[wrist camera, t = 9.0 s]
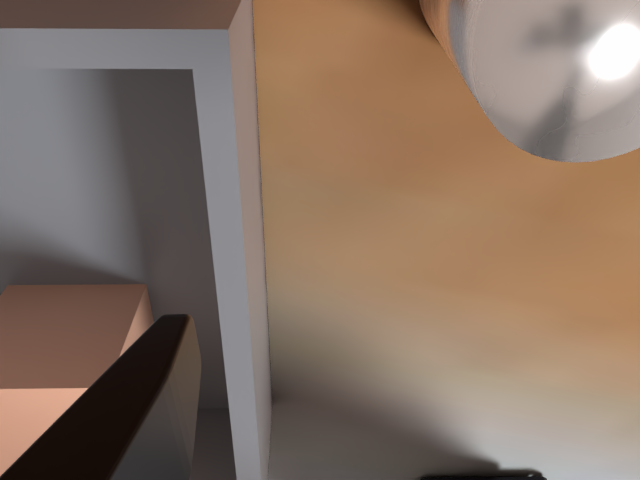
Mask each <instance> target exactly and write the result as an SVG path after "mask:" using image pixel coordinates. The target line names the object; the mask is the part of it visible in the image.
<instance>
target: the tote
mask: <svg viewBox="0 0 640 480" xmlns="http://www.w3.org/2000/svg"><path fill="white" fill-rule="evenodd" d="M102 284H147V289H148V294H149V299H150V305H151V310H152V315H153V320H154V322H155V321H156V320H157V319H158V318H159V317H160V316H162V315H166V314H189V315H191V316H192V318H193V320H194V324H195V329H196V335H197V340H198V345H199V350H200V355H201V378H200V389H199V399H198V410H197V420H196V430H195V441H194V451H193V460H192V468H191V475H190V480H268V469H269V453H270V437H271V421H272V387H271V367H270V347H269V327H268V307H267V287H266V267H265V247H264V227H263V206H262V186H261V166H260V146H259V126H258V106H257V86H256V66H255V46H254V26H253V6H252V0H0V295H1V294H2V292H3V291H4V290H5V288H6V287H7V285H102Z"/></svg>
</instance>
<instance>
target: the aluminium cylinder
mask: <svg viewBox="0 0 640 480" xmlns="http://www.w3.org/2000/svg"><path fill="white" fill-rule="evenodd" d="M419 3H420V7H421V10H422V13H423V15H424V18H425V20H426V22H427V24H428V26H429V27H430V29H431V31H432V32H433V34H434V35H435V37H436V38H437V40H438V41H439V43H440V45H441V46H442V48H443V49H444V51H445V52H446V54H447V55H448V57H449V58H450V60H451V62H452V63H453V65H454V66H455V68H456V69H457V71H458V72H459V74H460V75H461V77H462V78H463V80H464V82H465V83H466V85H467V86H468V88H469V89H470V91H471V92H472V94H473V95H474V97H475V98H476V100H477V102H478V103H479V105H480V106H481V108H482V109H483V111H484V112H485V114H486V115H487V117H488V118H489V120H490V121H491V122H492V124H493V125H494V126H495V128H496V129H497V130H498V131H499V132H500V133H501V134H502V135H503V136H504V137H505V138H506V139H507V140H509V141H510V142H512V143H513V144H514V145H516V146H517V147H519V148H520V149H523V150H525V151H527V152H529V153H531V154H533V155H536V156H539V157H542V158H545V159H550V160H555V161H561V162H589V161H597V160H602V159H608V158H611V157H615V156H618V155H622V154H625V153H627V152H630V151H632V150H635V149H637V148H640V0H419Z"/></svg>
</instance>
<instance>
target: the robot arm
mask: <svg viewBox="0 0 640 480" xmlns="http://www.w3.org/2000/svg"><path fill="white" fill-rule="evenodd" d="M200 378H201V355H200V350H199V345H198V340H197V335H196V329H195V324H194V320H193V318H192V316H191V315H189V314H166V315H162V316H160V317H159V318H158V319H157V320H156V321H155V322H154V323H153V324H152V325H151V326H150V327H149V328H148V329H147V330H146V331H145V332H144V333H143V334H142V335H141V336H140V337H139V338H138V339H137V340H136V341H135V342H134V343H133V344H132V345H131V346H130V347H129V348H128V349H127V350H126V351H125V352H124V353H123V354H122V355H121V356H120V357H119V358H118V359H117V360H116V361H115V362H114V363H113V364H112V365H111V366H110V367H109V368H108V369H107V370H106V371H105V372H104V373H103V374H102V375H101V376H100V377H99V378H98V379H97V380H96V381H95V382H94V383H93V384H92V385H91V386H90V387H89V388H88V389H87V390H86V391H85V392H84V393H83V394H82V395H81V396H80V397H79V398H78V399H77V400H76V401H75V402H74V403H73V404H72V405H71V406H70V407H69V408H68V409H67V410H66V411H65V412H64V413H63V414H62V415H61V416H60V417H59V418H58V419H57V420H56V421H55V422H54V423H53V424H52V425H51V426H50V427H49V428H48V429H47V430H46V431H45V432H44V433H43V434H42V435H41V436H40V437H39V438H38V439H37V440H36V441H35V442H34V443H33V444H32V445H31V446H30V447H29V448H28V449H27V450H26V451H25V452H24V453H23V454H22V455H21V456H20V457H19V458H18V459H17V460H16V461H15V462H14V463H13V464H12V465H11V466H10V467H9V468H8V469H7V470H6V471H5V472H4V473H3V474H2V475H1V476H0V480H190V475H191V468H192V460H193V451H194V441H195V430H196V420H197V410H198V399H199V389H200ZM421 480H547V479H546V478H544V477H458V478H424V479H421Z"/></svg>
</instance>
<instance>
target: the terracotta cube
mask: <svg viewBox="0 0 640 480" xmlns="http://www.w3.org/2000/svg"><path fill="white" fill-rule="evenodd" d="M153 323H154V320H153V315H152V310H151V305H150V299H149V294H148V289H147V284H102V285H7V287H6V288H5V290H4V291H3V292H2V294H1V295H0V476H1V475H2V474H3V473H4V472H5V471H6V470H7V469H8V468H9V467H10V466H11V465H12V464H13V463H14V462H15V461H16V460H17V459H18V458H19V457H20V456H21V455H22V454H23V453H24V452H25V451H26V450H27V449H28V448H29V447H30V446H31V445H32V444H33V443H34V442H35V441H36V440H37V439H38V438H39V437H40V436H41V435H42V434H43V433H44V432H45V431H46V430H47V429H48V428H49V427H50V426H51V425H52V424H53V423H54V422H55V421H56V420H57V419H58V418H59V417H60V416H61V415H62V414H63V413H64V412H65V411H66V410H67V409H68V408H69V407H70V406H71V405H72V404H73V403H74V402H75V401H76V400H77V399H78V398H79V397H80V396H81V395H82V394H83V393H84V392H85V391H86V390H87V389H88V388H89V387H90V386H91V385H92V384H93V383H94V382H95V381H96V380H97V379H98V378H99V377H100V376H101V375H102V374H103V373H104V372H105V371H106V370H107V369H108V368H109V367H110V366H111V365H112V364H113V363H114V362H115V361H116V360H117V359H118V358H119V357H120V356H121V355H122V354H123V353H124V352H125V351H126V350H127V349H128V348H129V347H130V346H131V345H132V344H133V343H134V342H135V341H136V340H137V339H138V338H139V337H140V336H141V335H142V334H143V333H144V332H145V331H146V330H147V329H148V328H149V327H150V326H151V325H152V324H153Z"/></svg>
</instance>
